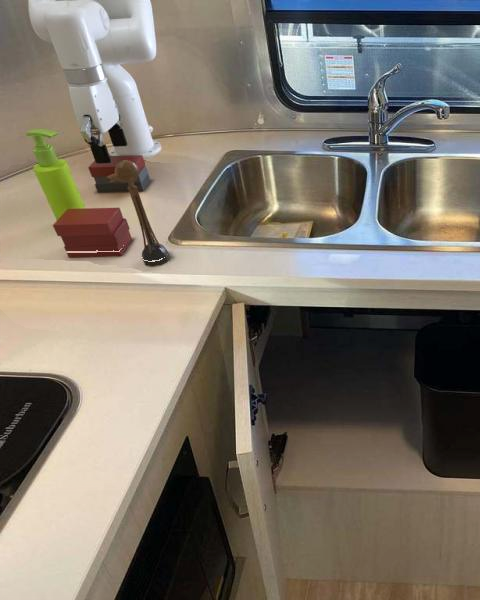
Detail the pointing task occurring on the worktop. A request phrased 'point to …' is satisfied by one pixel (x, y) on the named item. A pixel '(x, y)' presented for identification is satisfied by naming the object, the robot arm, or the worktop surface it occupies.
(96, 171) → the red book
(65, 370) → the worktop surface
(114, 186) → the grey books
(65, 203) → the soap dispenser
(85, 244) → the red books
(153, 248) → the wooden tabletop sculpture
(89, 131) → the robot arm
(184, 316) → the worktop surface
